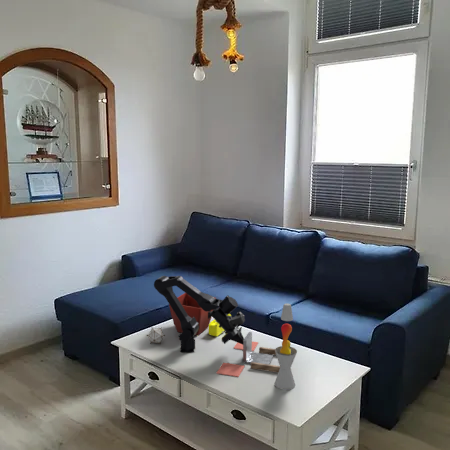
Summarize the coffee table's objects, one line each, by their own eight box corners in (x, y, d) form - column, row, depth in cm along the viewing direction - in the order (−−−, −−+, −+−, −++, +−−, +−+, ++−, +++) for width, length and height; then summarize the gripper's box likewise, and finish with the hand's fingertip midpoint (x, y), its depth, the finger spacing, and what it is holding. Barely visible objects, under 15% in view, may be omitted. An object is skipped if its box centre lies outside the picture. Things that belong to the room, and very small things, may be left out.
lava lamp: (295, 390, 189) (298, 309, 183) (273, 388, 191) (275, 307, 184) (295, 379, 198) (298, 301, 192) (274, 377, 199) (276, 300, 193)
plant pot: (216, 326, 254) (216, 297, 251) (200, 339, 237) (200, 308, 234) (185, 320, 262) (185, 292, 259) (168, 333, 245) (167, 302, 242)
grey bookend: (242, 362, 213) (243, 340, 211) (248, 353, 222) (248, 331, 220) (268, 366, 209) (269, 343, 207) (273, 357, 218) (273, 335, 216)
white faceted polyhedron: (159, 348, 235) (170, 331, 236) (155, 349, 227) (167, 332, 228) (145, 338, 237) (156, 321, 238) (140, 339, 229) (152, 322, 230)
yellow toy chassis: (217, 338, 240) (217, 322, 238) (208, 335, 242) (208, 320, 241) (231, 327, 254) (232, 312, 252) (222, 325, 256) (222, 311, 255)
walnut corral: (250, 368, 208) (250, 363, 207) (259, 351, 224) (259, 346, 224) (283, 373, 203) (283, 368, 203) (290, 356, 220) (290, 351, 219)
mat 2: (233, 348, 227) (233, 347, 227) (239, 340, 237) (239, 339, 237) (253, 351, 224) (253, 350, 224) (258, 343, 234) (258, 342, 234)
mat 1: (216, 373, 203) (216, 372, 203) (223, 363, 212) (223, 362, 212) (238, 377, 200) (238, 376, 200) (244, 366, 209) (244, 365, 209)
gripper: (228, 316, 206) (252, 342, 205) (240, 302, 223) (262, 326, 222) (211, 330, 210) (235, 356, 208) (224, 316, 227) (246, 340, 226)
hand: (245, 344), depth 216 cm, fingers closed, pressing on grey bookend
